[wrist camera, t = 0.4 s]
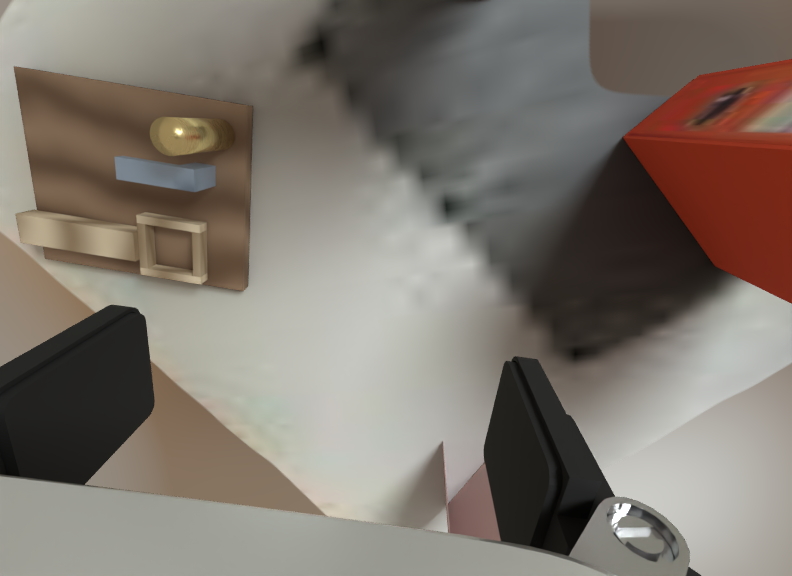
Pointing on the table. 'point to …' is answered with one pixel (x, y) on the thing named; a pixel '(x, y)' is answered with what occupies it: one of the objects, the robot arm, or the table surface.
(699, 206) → the file binder
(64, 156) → the base plate
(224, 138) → the pin
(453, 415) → the table surface
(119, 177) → the bracket
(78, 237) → the link
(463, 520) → the greeting card
